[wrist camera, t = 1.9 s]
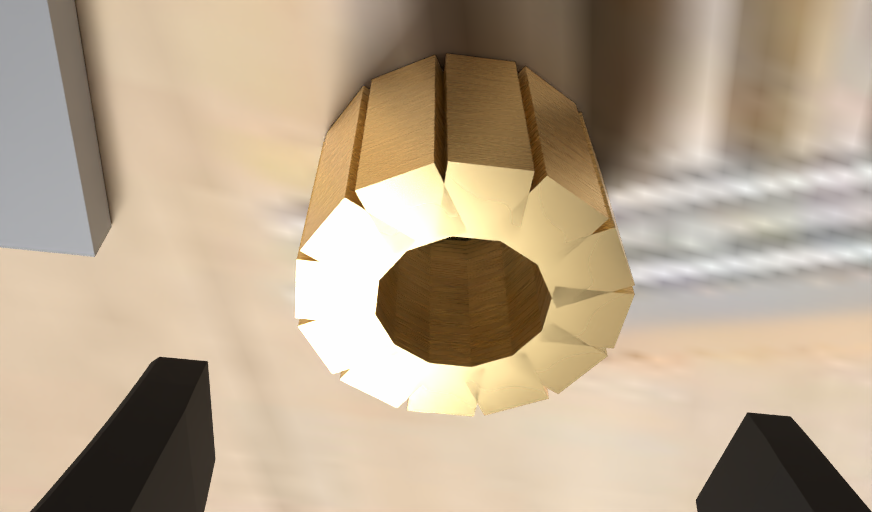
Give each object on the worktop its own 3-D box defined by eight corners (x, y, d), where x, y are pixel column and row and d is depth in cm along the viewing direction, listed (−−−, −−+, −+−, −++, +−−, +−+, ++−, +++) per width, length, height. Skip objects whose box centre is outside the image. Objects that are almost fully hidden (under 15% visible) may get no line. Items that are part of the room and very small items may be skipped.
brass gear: (559, 298, 17) (583, 425, 14) (317, 272, 17) (293, 400, 14) (628, 76, 14) (676, 187, 11) (328, 38, 14) (299, 144, 11)
